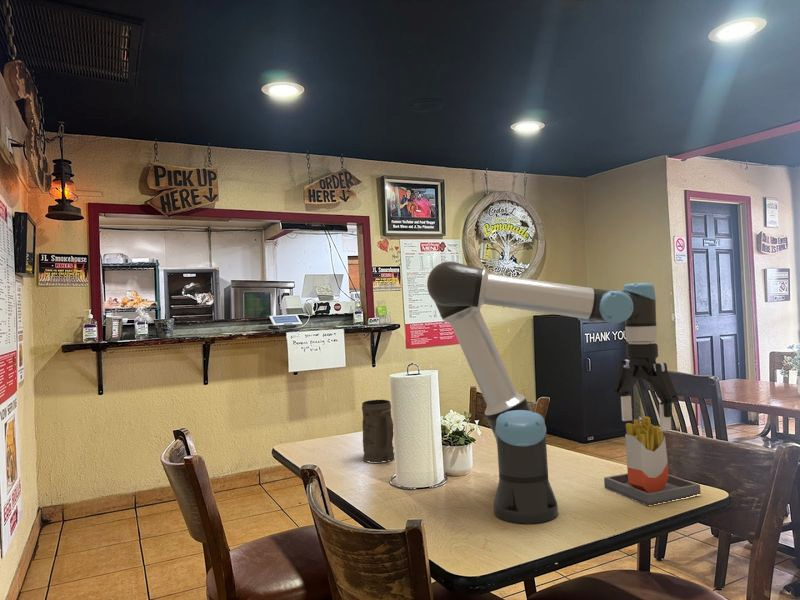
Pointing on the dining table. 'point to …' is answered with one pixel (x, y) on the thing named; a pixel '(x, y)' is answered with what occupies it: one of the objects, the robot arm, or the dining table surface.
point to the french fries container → (646, 456)
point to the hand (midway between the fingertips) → (645, 425)
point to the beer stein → (377, 431)
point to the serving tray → (671, 491)
